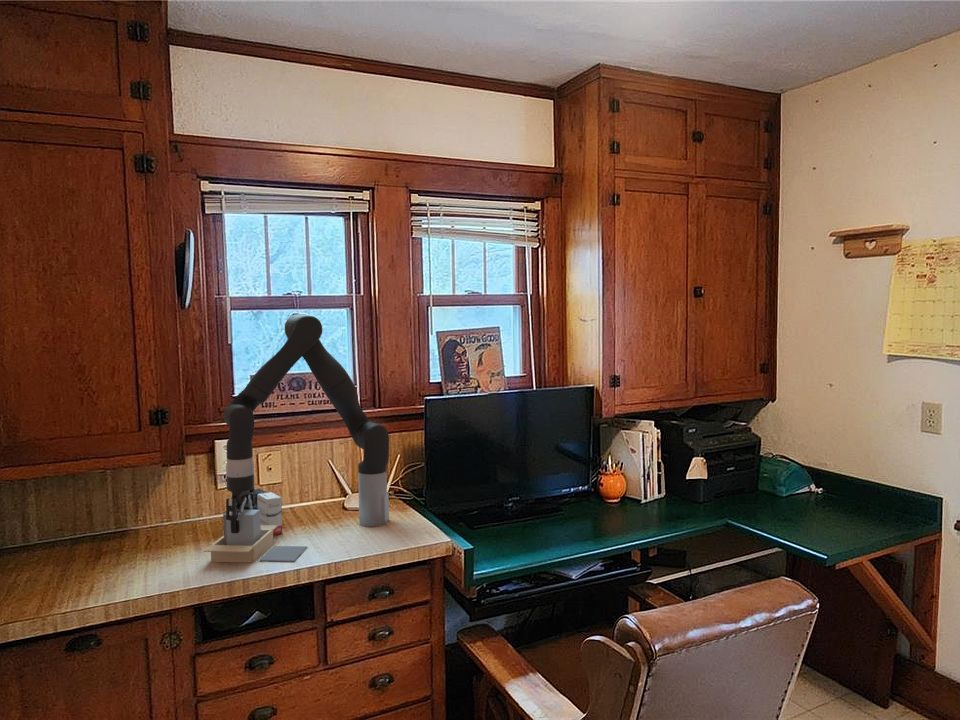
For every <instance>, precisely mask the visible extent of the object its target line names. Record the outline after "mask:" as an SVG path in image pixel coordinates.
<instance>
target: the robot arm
mask: <svg viewBox="0 0 960 720" xmlns="http://www.w3.org/2000/svg"><path fill="white" fill-rule="evenodd" d="M284 334H285V337H286V338H287V340H286V341H285V343H284V344H283V346H282V347H281V348H280V349H279V350H278V351H277V352H276V354H274V355H273V356H272V357H271V358H269V359H268V360H267V361H266V362H265V363H264V364H263V365H262V366H261V367H260V368H259V369H258V370H257V371H256V373H255V374H254V375H253V377H251V379H250V381H248V383H247V384H246V386H245V388H244V389H243V390H241V391H240V392H239V393H238V394H237V395H236V396H235V397H234V398H232V400H231V401H230V402H229V403H228V405H227V406H226V408H225V409H224V411H223V420H224V422H225V424H226V425H227V426H229V431H228V432H229V434H228V435H229V438H228V439H227V442H226V464H225V471H226V475H225V476H226V479H225V480H226V491H228V492H230V493H231V498H226V501H225V508H226V509H225V513H226V520H230V521H231V533H239V517H240V514H241V513H242V512H243V510H253V507H255V490H254V489H255V466H254V465H255V464H254V458H253V456H254V455H253V452H254V451H253V438H254V430H255V414H254V411H255V410H256V409H257V408H258V406H260V405H262V404H264V403H265V402H266V401H267V400H268V399H269V397H270V396H271V395H272V394H273V392H274V391H275V390H276V388H277V387H278V386H279V384H280V383H281V382H282V380H283V379H284V377H285V376H286V375H287V374H288V373H289V371H290V370H291V369H292V368H293V366H294V365H296V363H297V362H299V360H300V359H301V358H303V360H304V361H305V363H306V364H307V366H308V368H309V370H310V371H311V373H312V374H313V377H314V378H315V379H316V381H317V383H318V385H319V386H320V388H321V389H322V391H323V393H324V395H325V396H326V397H327V399H328V400H329V401H330V403H331V404H332V406H333V407H334V409H335V410H336V412H337V413H338V415H339V416H340V418H341V419H342V420H343V422H344V425H345V426H346V428H347V431H348V432H349V435H350V436H351V438H352V440H353V442H354V443H355V445H356V446H357V447H358V448H360V449H362V450H363V459H362V460H361V461H360V462H359V463H358V465H357V474H358V475H357V476H358V477H357V479H358V486H357V487H358V519H359V521H358V522H359V525H360V526H363V527H370V528H372V527H380V526H386V525H387V523H388V522H389V520H390V509H389V508H390V505H389V503H390V502H389V497H390V496H389V495H390V494H389V491H388V487H387V486H388V485H387V484H388V481H387V480H388V479H387V477H388V476H387V466H388V464H389V459H390V434H389V432H388V429H387V428H386V426H384V425H382V424H381V423H376V422H373V421H371V420H370V419H369V417H368V416H367V414H366V413H365V412H364V410H363V409H362V407H361V405H360V401H359V394H358V391H357V387H356V386H355V385H356V384H355V383H354V381H353V380H352V379H351V375H349V374H348V372H347V371H346V369H345V368H344V367H343V365H342V364H341V363H340V362H339V361H338V360H337V359H336V358H335V357H334V356H333V355H332V354H331V353H330V352H329V351H328V349H326V348H325V346H324V345H323V343H322V342H321V340H320V339H321V337H322V334H323V325H322V323H321V321H320V320H319V318H317V317H316V316H313V315H309V314H301V313H300V314H299V313H298V314H297V313H296V314H292V315H291V316H289V317H288V318H287V319H286V321H285V324H284ZM251 499H252V500H251ZM236 513H237V515H236Z"/></svg>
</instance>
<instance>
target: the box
mask: <svg viewBox="0 0 960 720" xmlns="http://www.w3.org/2000/svg"><path fill="white" fill-rule="evenodd" d="M236 515H237V513H236ZM222 517H223V518H222V520H223V536H224V545H238V546H252V545H253V544H255V543H256V542H257V541H258V540H259V539H260V538H261V523H260V510H243V512H242V513H241V514H240V517H239V533H231V521H230V520H226V512H225V513H223V514H222Z"/></svg>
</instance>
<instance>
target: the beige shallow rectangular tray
mask: <svg viewBox="0 0 960 720" xmlns="http://www.w3.org/2000/svg"><path fill="white" fill-rule="evenodd" d="M276 527H278V525H261V538H260V539H259V540H258V541H257V542H256V543H255V544H253V545H252V546H238V545H224V535H222V536H221V537H220V538H218V540H216V541H214V542H213V543H211V544H210V545H209V546H208V547H207V548H204V550H203V552H205V553H210V561H211V562H213V563H214V562H216V563H255V562H256V561H258V560H259V558H261V557H260V556H261V555H262V554H263V553H264V552H265V553H267V551H269V550H270V549H271V547H272V546H274V535H273V530H274V529H275V528H276ZM265 553H264V554H265ZM264 554H263V555H264ZM263 555H262V556H263Z"/></svg>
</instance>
